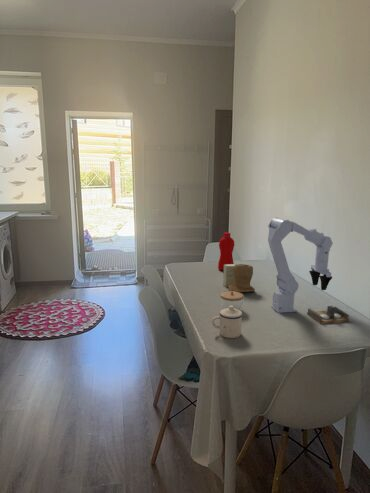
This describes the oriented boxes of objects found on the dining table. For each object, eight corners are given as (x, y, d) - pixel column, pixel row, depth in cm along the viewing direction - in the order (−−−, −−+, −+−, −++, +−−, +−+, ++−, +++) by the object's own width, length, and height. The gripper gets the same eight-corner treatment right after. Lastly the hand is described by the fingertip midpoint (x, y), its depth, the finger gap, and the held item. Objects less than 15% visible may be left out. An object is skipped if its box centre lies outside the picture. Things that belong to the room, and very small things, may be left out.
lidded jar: (216, 307, 177) (216, 289, 175) (235, 305, 181) (236, 286, 179) (226, 316, 167) (227, 296, 165) (247, 313, 171) (248, 293, 169)
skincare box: (225, 287, 209) (226, 266, 206) (222, 284, 213) (223, 264, 211) (235, 286, 210) (236, 265, 208) (232, 284, 215) (233, 263, 212)
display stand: (320, 323, 160) (320, 317, 159) (307, 314, 170) (307, 308, 170) (348, 321, 163) (349, 315, 162) (334, 312, 173) (334, 306, 173)
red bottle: (236, 268, 248) (237, 232, 243) (229, 272, 239) (230, 234, 234) (223, 266, 253) (225, 230, 248) (216, 270, 244) (217, 232, 239)
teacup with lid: (239, 329, 154) (240, 302, 151) (243, 338, 145) (244, 310, 142) (210, 328, 153) (211, 302, 151) (212, 338, 145) (213, 310, 142)
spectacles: (322, 319, 161) (323, 309, 160) (313, 313, 169) (313, 303, 168) (343, 318, 163) (344, 307, 162) (333, 311, 171) (334, 301, 170)
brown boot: (250, 287, 210) (251, 261, 206) (257, 294, 198) (258, 266, 195) (224, 287, 207) (225, 262, 204) (229, 294, 196) (230, 267, 193)
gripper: (338, 263, 171) (335, 291, 174) (320, 256, 185) (318, 282, 188) (324, 264, 169) (321, 292, 172) (308, 257, 183) (305, 283, 186)
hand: (319, 287), depth 180 cm, fingers open, 7 cm apart
